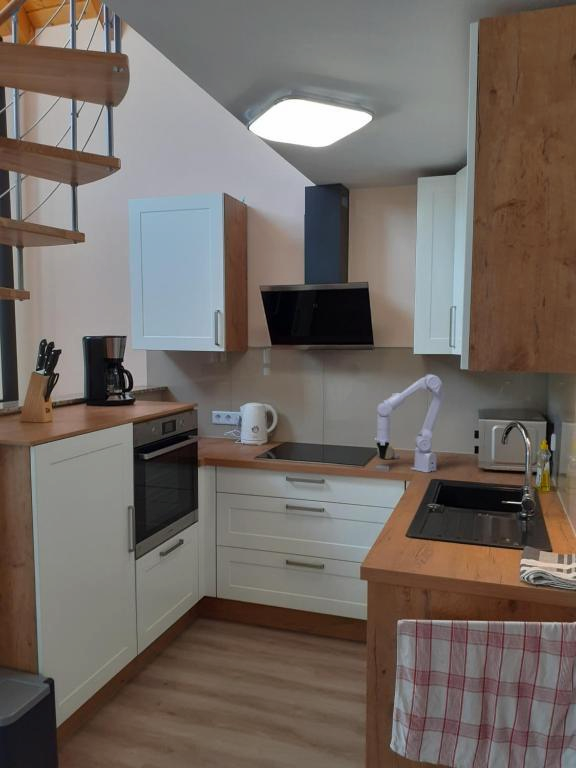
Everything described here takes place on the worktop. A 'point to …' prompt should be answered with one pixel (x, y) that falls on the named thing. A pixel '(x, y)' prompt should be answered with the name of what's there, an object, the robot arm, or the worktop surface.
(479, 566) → the worktop surface
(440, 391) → the robot arm
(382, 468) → the tile
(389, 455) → the ceramic mug
